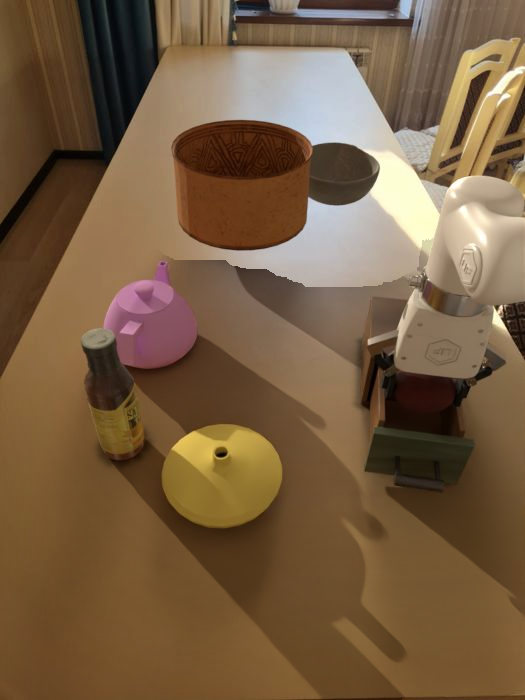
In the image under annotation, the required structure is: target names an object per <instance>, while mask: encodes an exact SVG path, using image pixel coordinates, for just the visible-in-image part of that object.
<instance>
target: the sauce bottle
mask: <svg viewBox="0 0 525 700" xmlns="http://www.w3.org/2000/svg"><path fill="white" fill-rule="evenodd" d="M80 345H81V349H82V352H83V353H84V354H85V357H86V361H87V369H88V370H87V372H86V374H85V377H84V380H83V385H84V390H85V393H86V400H87V404H88V407H89V411H90V414H91V418H92V421H93V424H94V425H93V426H94V428H95V432H96V435H97V438H98V441H99V444H100V445H99V446H100V447H101V449H102V451H103V453H104V454H105V455H106V456H107V457H108V458H109V459H111V460H114V461H126V460H130V459H133V458H134V457H136V456H137V455H138V454H139V453H140V452H141V451H142V450H143V447H144V446H145V441H146V438H145V436H146V435H145V433H146V432H145V428H144V422H143V417H142V412H141V408H140V402H139V397H138V393H137V388H136V383H135V378H134V377H133V375H132V374H131V372H129V370H128V369H127V368H126V365H124V364H122V362H121V361H120V358H119V356H118V352H117V340H116V337H115V334H114V333H113V332H112V331H111V330H108V329H105V328H104V327H98V328H94V329H90V330H88V331H87V332H85V333H84V334H83V335H82V337H81V339H80Z"/></svg>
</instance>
